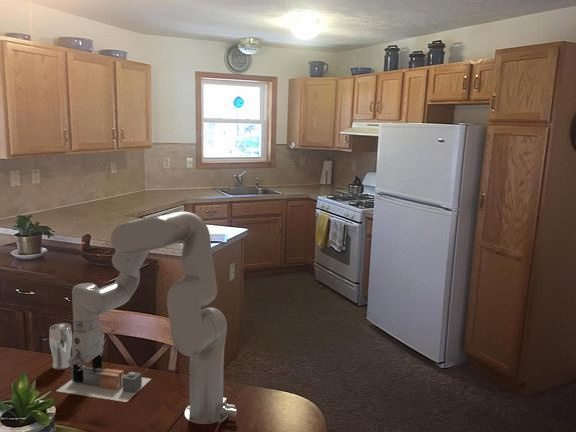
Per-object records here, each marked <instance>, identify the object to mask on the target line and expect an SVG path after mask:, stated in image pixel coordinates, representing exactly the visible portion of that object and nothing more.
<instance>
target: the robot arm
mask: <svg viewBox="0 0 576 432" xmlns="http://www.w3.org/2000/svg"><path fill="white" fill-rule="evenodd" d="M207 225H208V224H206V221H204V220H203V219H202V218H201V217H200V216H199V215H197V214H195V213H193V212H189V211H176V212H175V211H174V212H170V213H165V214H162V215H157V216H153V217H148V218H141V219H140V218H139V219H134V220H130V221H125V222H121V223H119V224H118V225H116V226H115V227H114V228H113V230H112V232H111V235H110V243H111V246H112V248H113V249H114V250H115V252H114V253H113V255H112V256H111V257H112V258H111V263H112V267H114V269H116V270H117V271H118V272H119V275H118V276H117V277H116V279H115V280H114V282H113V283H109V284H107V285H104V286H102V287H98V285H97V284H95V283H92V282H82V283H78V284H76V285H74V286H73V287H72V290H71V296H72V298H71V299H72V323H73V325H72V326H73V332H72V346H71V355H70V359H69V360H68V364H69V366H70V367H69V368H70V369H71V370H73V381H74V382H80V383H82V382H83V381H84V380H83V370H82V367H83V365H85V364H87V363H90V362H91V364H92V365H91V367H93V368H100V369H103V356H104V355H103V354H104V352H103V351H104V348H105V347H104V345H105V341H106V340H105V339H104V337H103V332H102V330H103V329H102V325H101V323H100V315H103V314H105V313H108V312H111V311H112V310H114V309H117V308H119V307H121V306H123V305H125V304H126V303H127V302H129V301H130V299H131V298H132V296H133V295H134V294H135V292H136V290H137V288H138V286H139V284H140V281H141V280H140V278H141V272H140V269H141V267H142V266H143V264H144V263H145V260H146V259H147V258H148V255H149V254H150V252H151V251H153V250H158V249H163V248H166V247H170V246H173V245H176V244H179V243H182V244H183V246H182V251H181V266H182V273H183V274H182V275H183V276H182V278H180V279H178V280H176V281H174V283H173V284H172V285H170V287H169V288H168V291H167V295H166V306H167V313H168V318H169V319H168V320H169V325H170V333H171V338H172V341H173V344H174V346H175V348H176V350H177V351H178V352H179V353H180V354H182V355H183V356H186V357H189V405H188V406H187V407H186V408H185V410H184V411H183V412H184V417H185V418H186V419H187V421H190V422H191V423H194V424H201V425H206V424H207V425H208V424H209V425H210V424H213V423H214V424H215V423H217V422H218V423H217V425H220V424H222V423H223V422H224V421H226V420H227V418H228V417H229V416H232V417H236V416H237V413H238V410H237V409H236V404H229V403H228V402H227V397H224V365H225V364H224V363H225V362H224V360H225V346H226V338H227V331H228V323H227V319H226V316H225V315H224V313H223V312H222V311H221V310H219V309H218V308H215V307H206V306H207V305H210V304H211V303H212V302H213V301H214V300H215V299H216V298H217V294H218V286H217V285H218V284H217V278H216V271H215V266H214V261H213V260H214V258H213V254H212V253H213V252H212V242H211V235H210V234H211V233H210V231H209V228H208V226H207ZM205 307H206V308H205ZM78 363H79V364H78ZM78 365H79V366H78Z"/></svg>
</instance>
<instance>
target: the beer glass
mask: <svg viewBox="0 0 576 432" xmlns="http://www.w3.org/2000/svg"><path fill="white" fill-rule="evenodd" d="M48 333H49V338H48V339H49V341H48V342H49V347H50V351H51V356H52V368H53V369H54V370H64V369H68V368H70V366H69V364H68V360H69V359H70V357H71V354H72V339H73V332H72V324H70V323H68V322H67V323H66V322H65V323H64V322H60V323H56V324H55V323H54V324H53V325H50V327H49V332H48Z"/></svg>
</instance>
